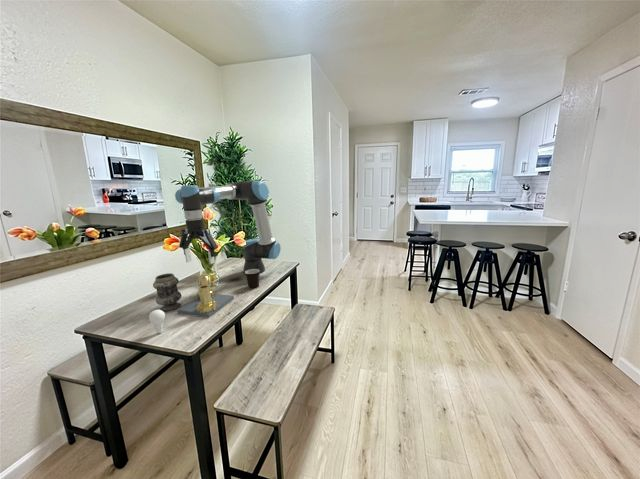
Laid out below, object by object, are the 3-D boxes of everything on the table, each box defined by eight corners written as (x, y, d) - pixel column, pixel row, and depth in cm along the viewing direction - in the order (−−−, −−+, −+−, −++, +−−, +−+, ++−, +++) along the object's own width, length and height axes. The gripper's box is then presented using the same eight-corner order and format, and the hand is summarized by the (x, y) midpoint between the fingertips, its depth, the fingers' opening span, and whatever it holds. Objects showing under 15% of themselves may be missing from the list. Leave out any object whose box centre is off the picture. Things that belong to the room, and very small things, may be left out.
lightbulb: (153, 338, 118) (148, 315, 115) (151, 332, 123) (147, 310, 120) (168, 333, 121) (164, 310, 119) (166, 327, 126) (162, 305, 124)
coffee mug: (257, 289, 164) (255, 274, 162) (244, 289, 166) (242, 273, 164) (264, 282, 175) (263, 267, 173) (252, 281, 177) (250, 267, 175)
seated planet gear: (205, 292, 159) (202, 272, 156) (218, 293, 156) (215, 273, 153) (193, 299, 150) (190, 278, 147) (207, 300, 148) (204, 279, 145)
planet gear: (205, 304, 144) (202, 282, 141) (220, 305, 141) (217, 284, 138) (193, 312, 135) (189, 289, 133) (208, 314, 133) (205, 291, 130)
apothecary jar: (174, 300, 154) (168, 270, 150) (187, 304, 148) (182, 273, 144) (152, 310, 144) (146, 278, 139) (166, 315, 138) (160, 281, 134)
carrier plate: (205, 295, 159) (203, 281, 157) (234, 298, 153) (232, 284, 151) (177, 313, 139) (174, 297, 137) (209, 317, 134) (206, 300, 132)
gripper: (166, 220, 128) (173, 263, 133) (211, 220, 121) (217, 266, 126) (178, 217, 135) (185, 258, 140) (221, 217, 128) (227, 261, 133)
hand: (200, 262), depth 133 cm, fingers open, 13 cm apart
